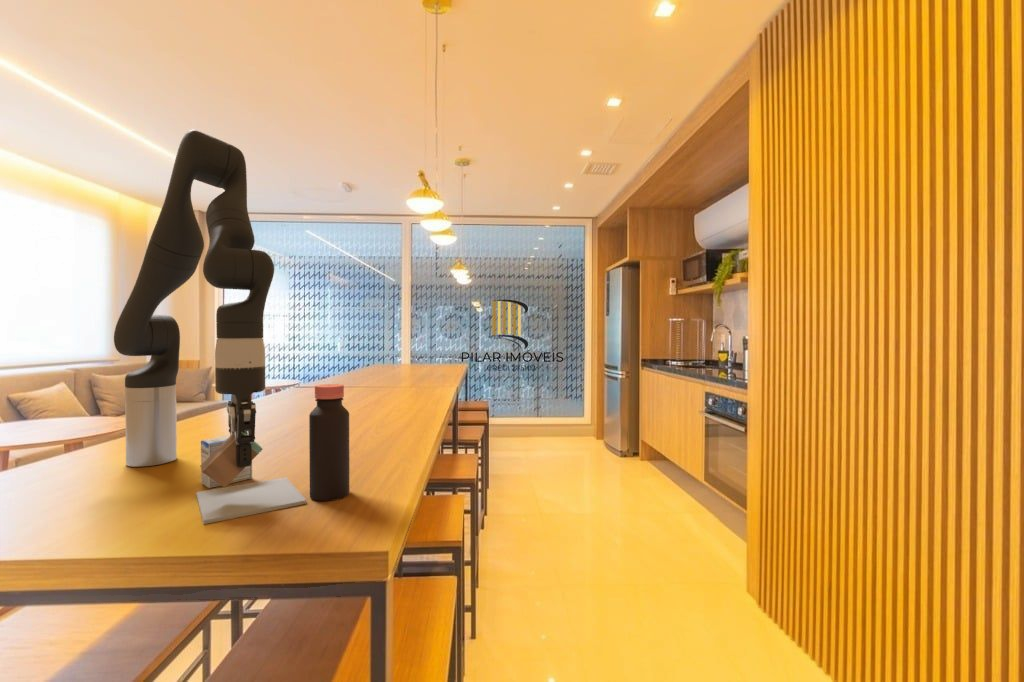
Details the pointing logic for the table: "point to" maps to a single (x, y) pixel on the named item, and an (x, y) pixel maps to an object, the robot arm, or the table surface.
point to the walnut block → (226, 461)
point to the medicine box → (207, 450)
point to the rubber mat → (247, 499)
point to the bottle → (329, 444)
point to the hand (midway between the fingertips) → (241, 462)
